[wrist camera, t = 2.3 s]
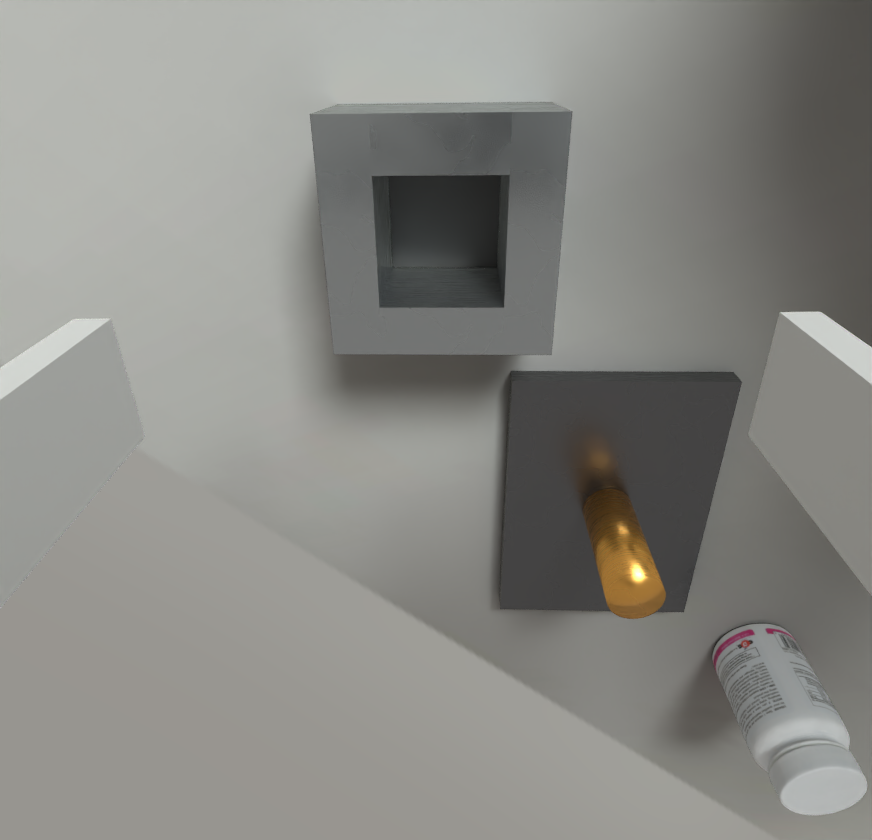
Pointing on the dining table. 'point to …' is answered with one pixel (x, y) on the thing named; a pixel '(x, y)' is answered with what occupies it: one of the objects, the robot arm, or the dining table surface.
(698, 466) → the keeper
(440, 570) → the dining table surface
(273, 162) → the dining table surface
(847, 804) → the pill bottle
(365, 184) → the grey square socket block
